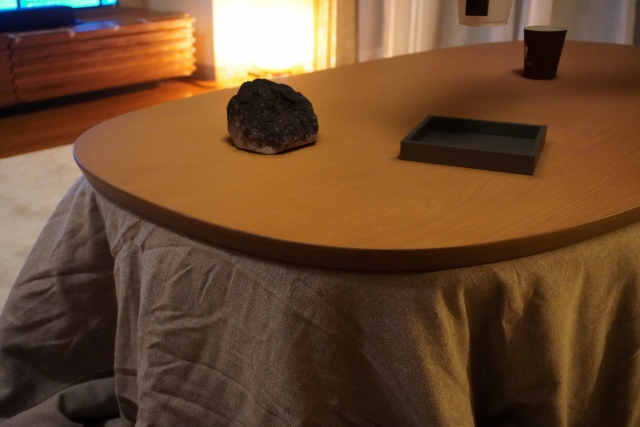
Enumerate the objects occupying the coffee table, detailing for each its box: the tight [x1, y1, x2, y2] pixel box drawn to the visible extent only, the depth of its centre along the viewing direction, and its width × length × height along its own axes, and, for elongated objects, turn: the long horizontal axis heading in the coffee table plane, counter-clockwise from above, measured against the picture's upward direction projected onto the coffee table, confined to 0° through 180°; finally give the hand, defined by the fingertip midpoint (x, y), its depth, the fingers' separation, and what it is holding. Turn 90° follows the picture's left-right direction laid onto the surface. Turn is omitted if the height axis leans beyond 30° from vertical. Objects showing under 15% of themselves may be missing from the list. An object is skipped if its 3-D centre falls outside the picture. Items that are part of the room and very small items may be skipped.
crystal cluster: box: [225, 77, 320, 155], centre depth 93 cm, size 13×14×10 cm
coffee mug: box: [523, 24, 568, 81], centre depth 131 cm, size 12×9×10 cm
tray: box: [399, 114, 548, 176], centre depth 88 cm, size 18×15×3 cm
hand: (484, 11), depth 83 cm, fingers closed on foam cup, 9 cm apart
